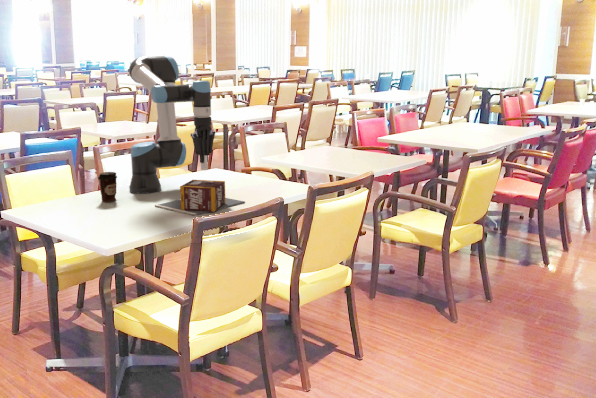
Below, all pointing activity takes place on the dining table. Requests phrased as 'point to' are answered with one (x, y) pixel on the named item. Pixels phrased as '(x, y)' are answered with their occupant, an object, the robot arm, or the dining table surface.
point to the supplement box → (202, 195)
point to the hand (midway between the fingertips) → (204, 169)
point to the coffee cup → (108, 186)
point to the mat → (177, 207)
